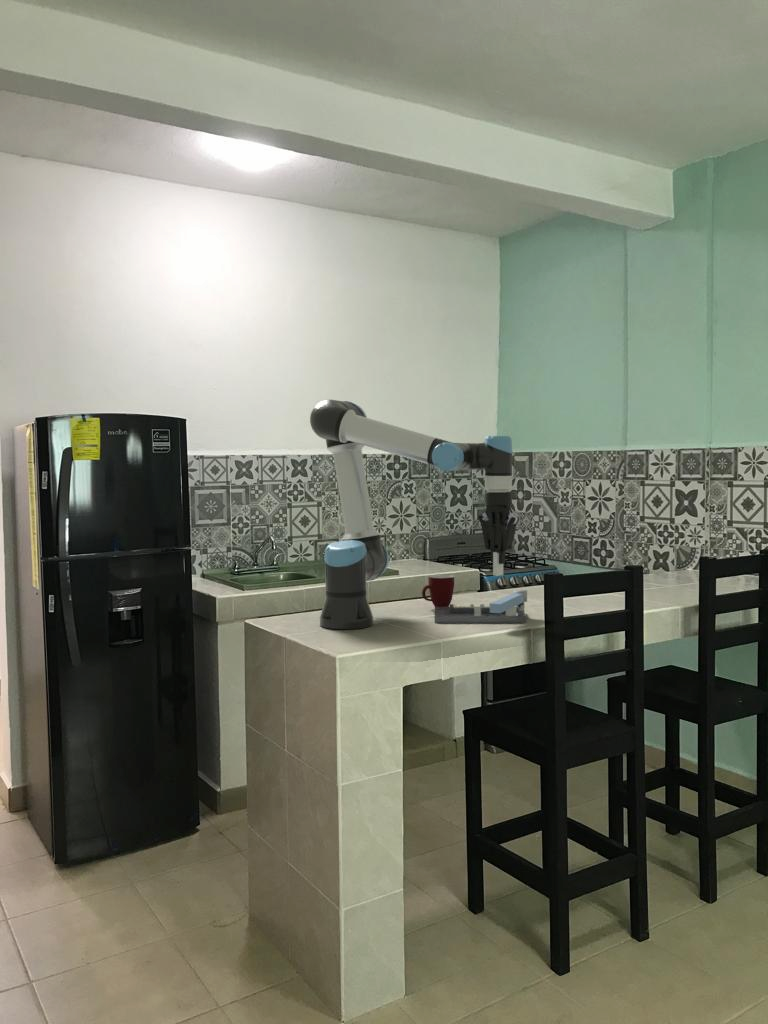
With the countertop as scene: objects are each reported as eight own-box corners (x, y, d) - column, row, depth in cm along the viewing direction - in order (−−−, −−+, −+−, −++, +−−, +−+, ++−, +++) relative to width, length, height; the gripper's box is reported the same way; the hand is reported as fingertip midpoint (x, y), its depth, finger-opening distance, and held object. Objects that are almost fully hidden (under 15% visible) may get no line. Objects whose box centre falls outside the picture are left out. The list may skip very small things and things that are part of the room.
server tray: (434, 622, 240) (434, 607, 240) (434, 613, 255) (434, 598, 255) (527, 622, 238) (527, 607, 238) (521, 613, 253) (521, 598, 253)
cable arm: (515, 599, 248) (515, 589, 248) (529, 600, 246) (528, 590, 246) (487, 612, 228) (487, 601, 228) (501, 613, 226) (501, 602, 226)
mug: (430, 611, 257) (430, 579, 257) (417, 608, 264) (416, 576, 264) (459, 608, 262) (459, 576, 262) (445, 604, 269) (445, 573, 269)
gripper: (525, 491, 232) (525, 576, 234) (488, 490, 241) (488, 571, 243) (508, 492, 227) (508, 578, 228) (471, 491, 236) (471, 574, 238)
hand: (498, 575), depth 236 cm, fingers closed
